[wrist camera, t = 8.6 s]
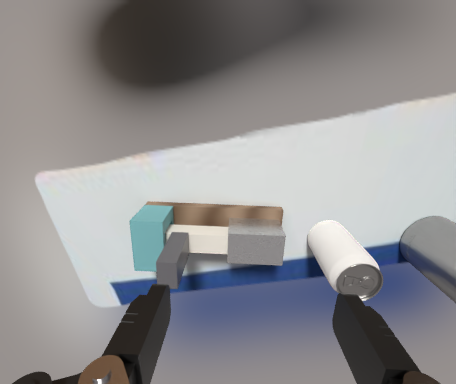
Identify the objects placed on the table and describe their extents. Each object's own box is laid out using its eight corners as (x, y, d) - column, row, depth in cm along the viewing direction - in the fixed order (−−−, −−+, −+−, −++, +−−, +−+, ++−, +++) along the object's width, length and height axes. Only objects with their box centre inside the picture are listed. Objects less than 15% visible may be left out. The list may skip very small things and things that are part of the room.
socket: (173, 206, 39) (162, 222, 33) (174, 250, 41) (165, 272, 36) (145, 204, 39) (129, 220, 33) (148, 248, 42) (134, 270, 36)
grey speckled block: (279, 219, 39) (285, 236, 34) (276, 246, 41) (282, 265, 36) (229, 217, 39) (228, 233, 34) (228, 244, 41) (227, 262, 36)
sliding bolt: (241, 225, 38) (244, 266, 28) (240, 246, 39) (242, 292, 29) (152, 221, 38) (123, 260, 28) (153, 242, 39) (126, 286, 29)
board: (281, 207, 40) (283, 210, 39) (276, 249, 43) (278, 254, 41) (148, 201, 40) (145, 204, 39) (151, 244, 43) (148, 248, 42)
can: (341, 254, 42) (380, 306, 31) (303, 251, 43) (328, 303, 31) (348, 219, 40) (393, 262, 29) (309, 217, 41) (338, 259, 29)
